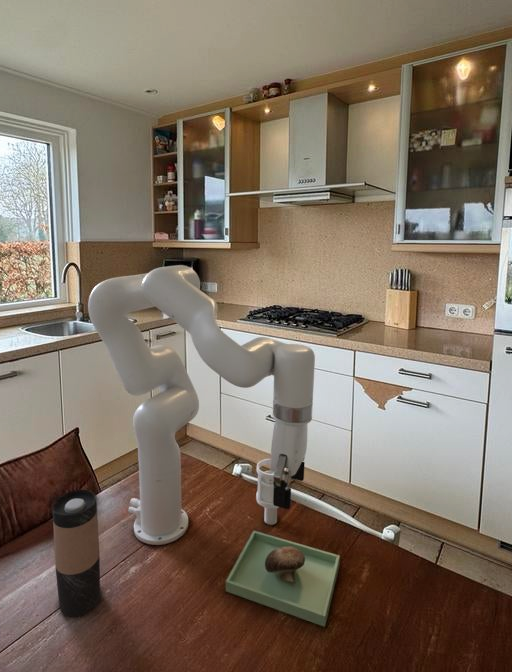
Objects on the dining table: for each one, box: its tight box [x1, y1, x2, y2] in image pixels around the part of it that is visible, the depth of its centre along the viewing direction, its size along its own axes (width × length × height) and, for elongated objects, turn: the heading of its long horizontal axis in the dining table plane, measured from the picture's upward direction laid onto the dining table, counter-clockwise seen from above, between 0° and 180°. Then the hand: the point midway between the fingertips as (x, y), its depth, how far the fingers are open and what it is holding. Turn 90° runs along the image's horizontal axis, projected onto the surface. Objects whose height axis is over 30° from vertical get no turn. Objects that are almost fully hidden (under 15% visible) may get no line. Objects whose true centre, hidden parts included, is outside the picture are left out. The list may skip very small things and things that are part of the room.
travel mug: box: [52, 489, 101, 618], centre depth 78 cm, size 8×8×20 cm
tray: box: [225, 530, 341, 628], centre depth 84 cm, size 19×15×2 cm
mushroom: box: [265, 546, 305, 583], centre depth 84 cm, size 8×8×6 cm
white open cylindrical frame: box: [255, 458, 288, 526], centre depth 100 cm, size 7×7×15 cm
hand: (289, 491), depth 83 cm, fingers open, 9 cm apart
